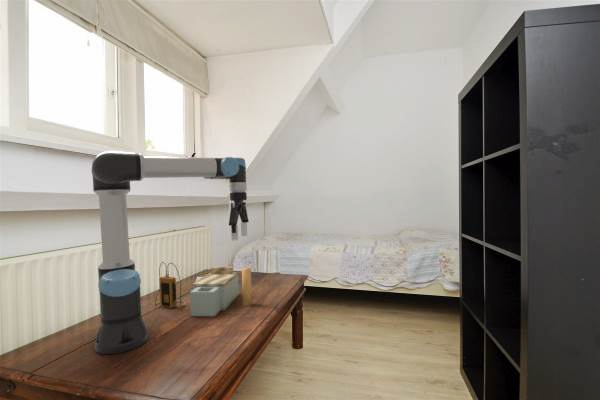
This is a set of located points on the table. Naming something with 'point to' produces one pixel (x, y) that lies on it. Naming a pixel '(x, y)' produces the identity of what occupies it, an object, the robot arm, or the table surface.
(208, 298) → the toolbox
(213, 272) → the lid
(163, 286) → the multimeter
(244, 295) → the long wooden block
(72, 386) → the table surface
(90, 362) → the table surface
